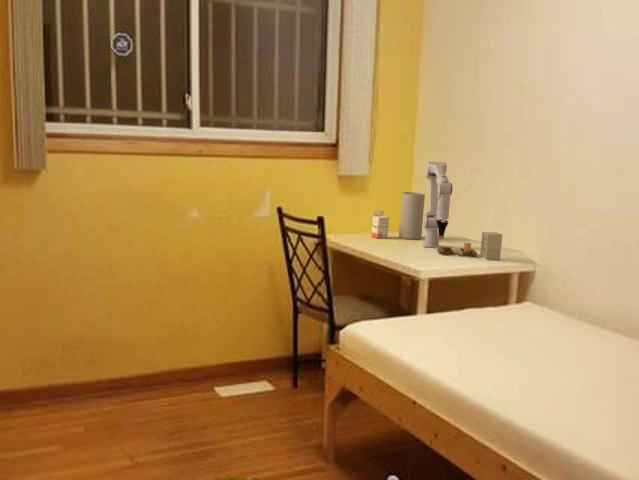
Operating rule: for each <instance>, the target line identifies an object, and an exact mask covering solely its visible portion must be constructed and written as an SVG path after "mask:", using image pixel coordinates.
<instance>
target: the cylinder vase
mask: <svg viewBox="0 0 639 480" xmlns="http://www.w3.org/2000/svg"><path fill="white" fill-rule="evenodd" d="M425 197H426V194H425V193H421V192H411V191H410V192H408V191H407V192H406V191H405V192H404V191H403V192H402V193H401V204H400V205H401V206H400V216H399V229H398V230H399V232H398V237H399V238H400V239H404V240H411V241H412V240H413V241H415V240H420V239H422V236H423V220H424V213H425V212H424V210H425Z"/></svg>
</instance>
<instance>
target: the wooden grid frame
mask: <svg viewBox="0 0 639 480" xmlns="http://www.w3.org/2000/svg"><path fill="white" fill-rule="evenodd" d="M436 249H437V251H436V252H437V253H438V255H439V254H442V255H441V256H449V255H458V256H457V257H463V256H472V257H471V258H478V252H477V251H476V250H475V249H474V248H471V251H470V253H468V252H464V248H461V247H459V248H458V247H446V246H440V247H438V248H436Z"/></svg>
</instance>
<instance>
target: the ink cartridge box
mask: <svg viewBox="0 0 639 480" xmlns="http://www.w3.org/2000/svg"><path fill="white" fill-rule="evenodd" d="M384 213H385V211H384V210H374V211H373V214H372V223H371V236H370V237H371V238H373V239H388V238H389V237H388V236H389V223H390V217H389V216H385V215H384Z"/></svg>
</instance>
